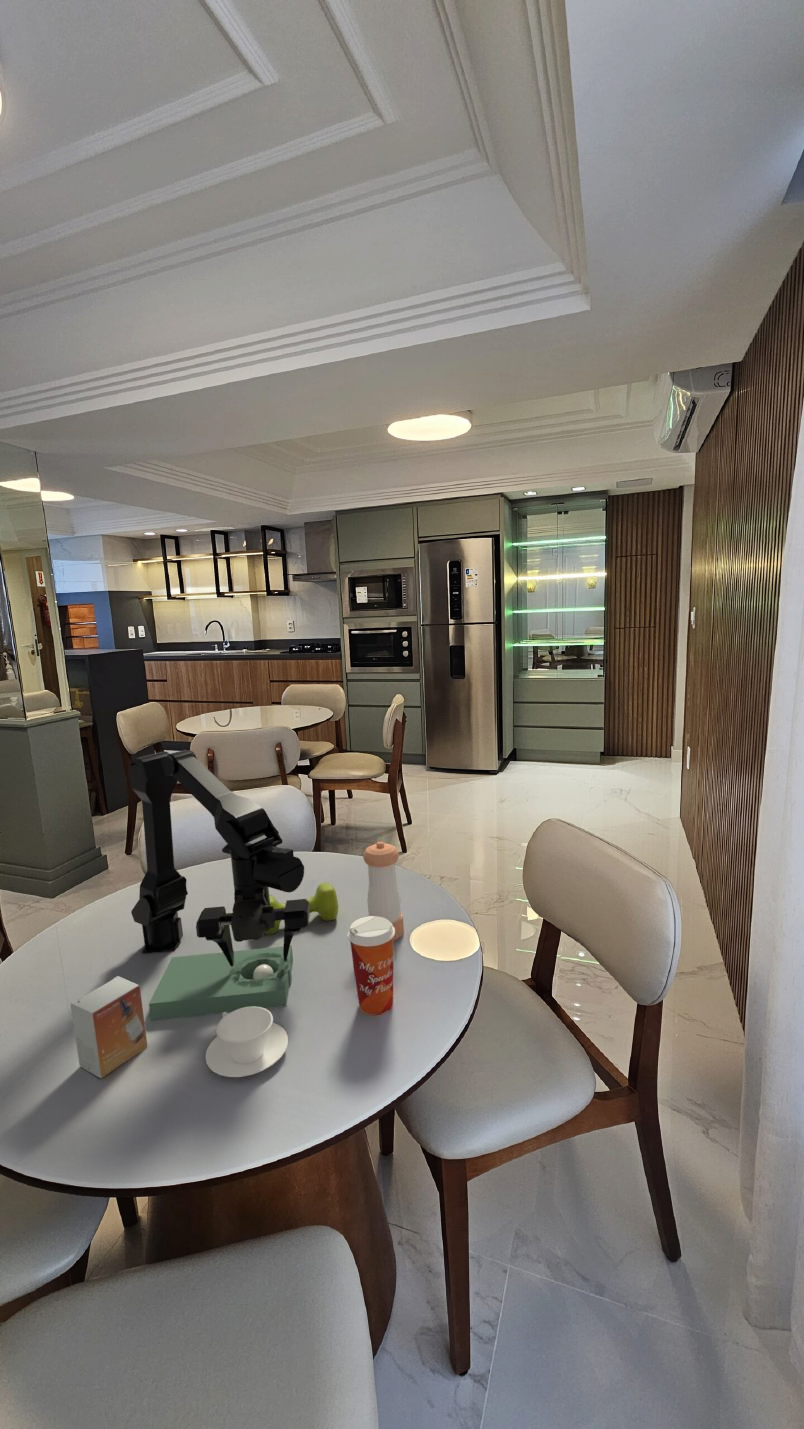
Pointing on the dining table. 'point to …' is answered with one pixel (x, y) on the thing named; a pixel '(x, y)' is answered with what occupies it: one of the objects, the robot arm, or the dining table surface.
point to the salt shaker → (384, 885)
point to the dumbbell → (314, 904)
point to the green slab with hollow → (221, 983)
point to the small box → (109, 1026)
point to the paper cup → (373, 963)
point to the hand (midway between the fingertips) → (259, 962)
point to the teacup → (246, 1043)
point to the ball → (262, 972)
